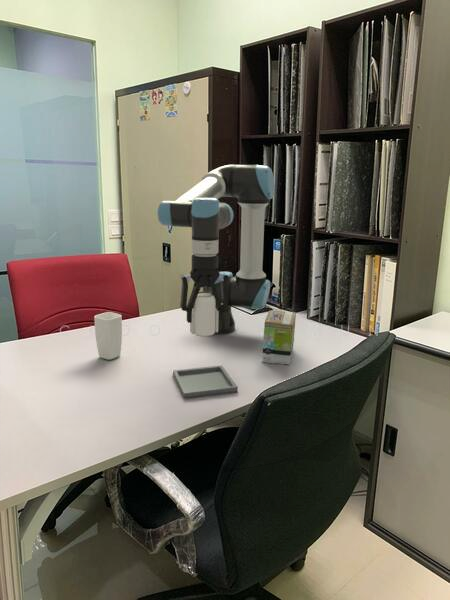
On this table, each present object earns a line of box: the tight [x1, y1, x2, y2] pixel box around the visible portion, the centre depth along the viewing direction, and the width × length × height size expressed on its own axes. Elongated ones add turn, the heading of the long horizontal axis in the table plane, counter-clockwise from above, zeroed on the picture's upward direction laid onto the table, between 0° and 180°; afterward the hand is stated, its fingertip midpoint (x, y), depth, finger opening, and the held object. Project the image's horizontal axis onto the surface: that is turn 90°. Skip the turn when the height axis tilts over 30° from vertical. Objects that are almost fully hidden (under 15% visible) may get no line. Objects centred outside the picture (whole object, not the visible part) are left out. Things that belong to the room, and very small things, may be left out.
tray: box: [172, 365, 239, 400], centre depth 141 cm, size 16×16×2 cm
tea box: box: [261, 309, 297, 365], centre depth 162 cm, size 15×10×15 cm, turn 168°
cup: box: [93, 311, 123, 361], centre depth 157 cm, size 7×7×15 cm
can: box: [193, 290, 216, 338], centre depth 135 cm, size 6×6×12 cm
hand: (204, 331), depth 137 cm, fingers closed on can, 6 cm apart
